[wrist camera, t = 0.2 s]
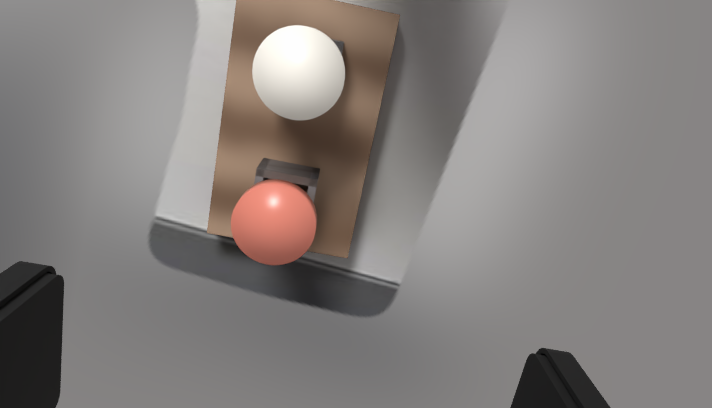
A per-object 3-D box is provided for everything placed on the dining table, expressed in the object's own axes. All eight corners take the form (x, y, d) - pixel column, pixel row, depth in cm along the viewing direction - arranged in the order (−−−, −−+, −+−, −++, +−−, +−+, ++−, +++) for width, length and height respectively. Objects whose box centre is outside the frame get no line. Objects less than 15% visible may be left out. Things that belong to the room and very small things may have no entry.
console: (246, -17, 41) (228, -26, 35) (396, 16, 42) (405, 12, 35) (215, 220, 47) (195, 248, 40) (347, 245, 48) (347, 276, 41)
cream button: (271, 19, 36) (259, 16, 31) (352, 36, 36) (353, 36, 31) (259, 100, 37) (246, 110, 32) (336, 116, 38) (335, 128, 33)
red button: (250, 159, 39) (236, 178, 34) (325, 174, 39) (322, 194, 34) (240, 229, 40) (225, 257, 35) (312, 243, 41) (307, 271, 36)
